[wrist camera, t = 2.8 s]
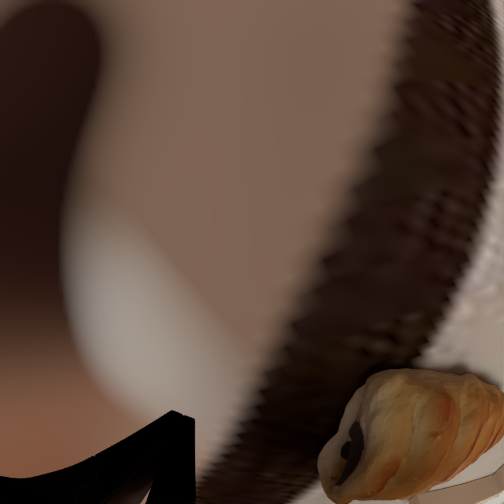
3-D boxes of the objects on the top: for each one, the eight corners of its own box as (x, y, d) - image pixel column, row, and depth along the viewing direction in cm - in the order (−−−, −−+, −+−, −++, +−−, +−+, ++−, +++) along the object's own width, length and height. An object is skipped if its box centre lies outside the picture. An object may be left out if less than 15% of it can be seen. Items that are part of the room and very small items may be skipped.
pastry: (521, 356, 7) (560, 400, 3) (457, 450, 9) (473, 496, 5) (360, 352, 8) (385, 441, 4) (307, 460, 10) (302, 526, 6)
